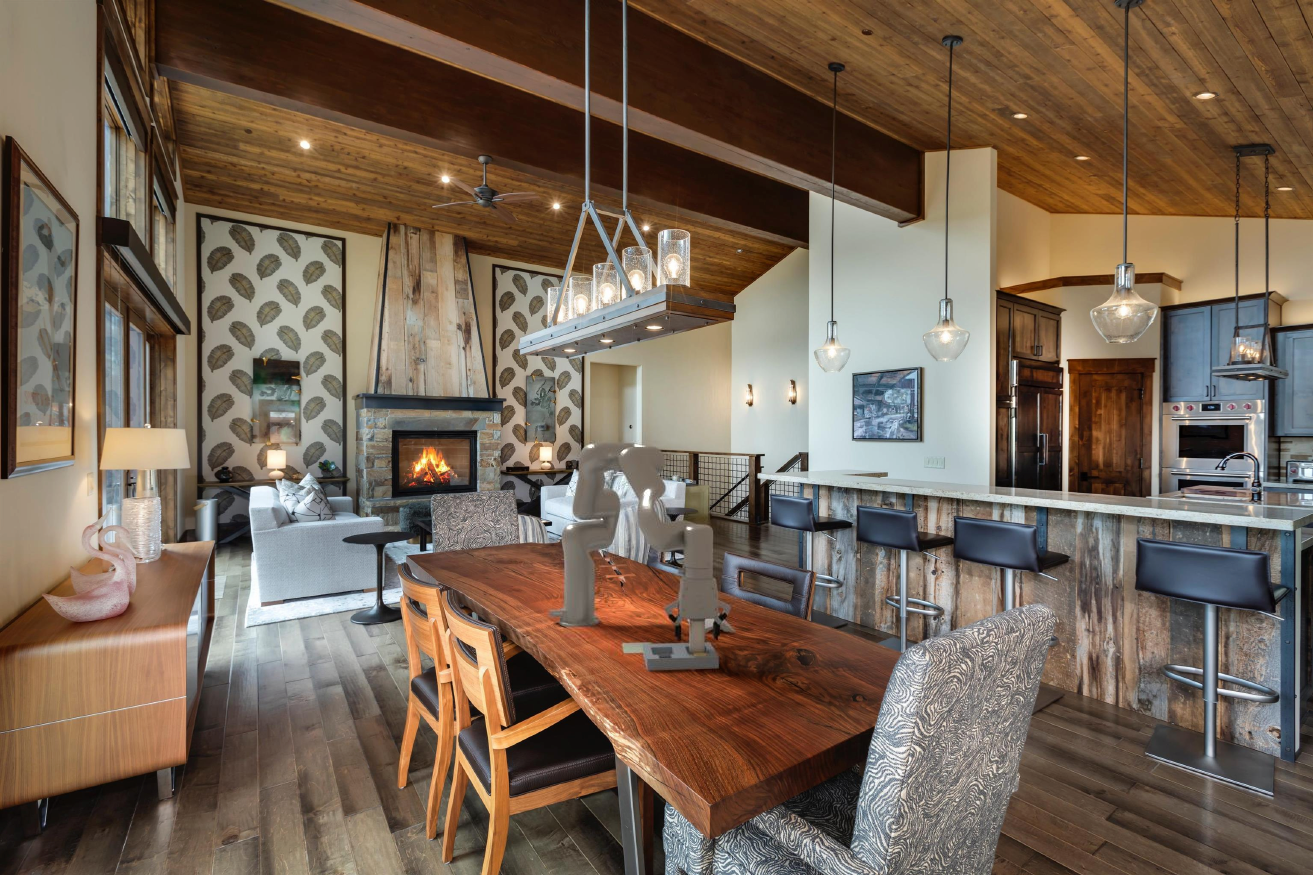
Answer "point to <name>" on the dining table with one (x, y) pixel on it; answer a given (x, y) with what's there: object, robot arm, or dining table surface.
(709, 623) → the crown molding
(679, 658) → the socket block
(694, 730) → the dining table surface
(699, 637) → the plug
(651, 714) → the dining table surface
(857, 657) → the dining table surface
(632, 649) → the square base plate
